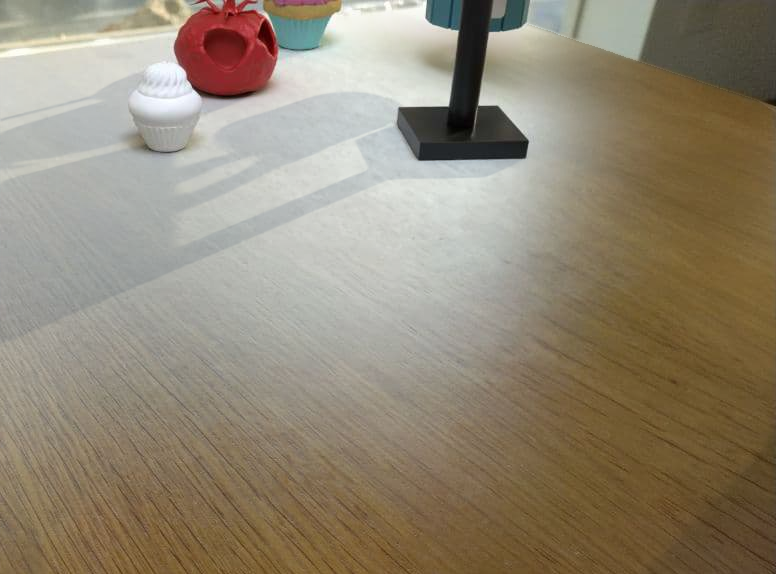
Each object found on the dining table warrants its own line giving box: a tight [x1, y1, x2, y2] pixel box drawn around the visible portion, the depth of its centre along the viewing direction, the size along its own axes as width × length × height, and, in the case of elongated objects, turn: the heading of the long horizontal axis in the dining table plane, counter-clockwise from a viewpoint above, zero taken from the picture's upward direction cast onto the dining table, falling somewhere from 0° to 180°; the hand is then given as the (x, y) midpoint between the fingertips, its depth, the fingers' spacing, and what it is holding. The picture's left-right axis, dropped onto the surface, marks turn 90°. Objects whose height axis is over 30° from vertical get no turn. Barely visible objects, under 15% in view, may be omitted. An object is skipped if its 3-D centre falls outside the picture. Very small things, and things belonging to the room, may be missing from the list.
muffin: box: [127, 60, 203, 153], centre depth 81 cm, size 6×6×7 cm
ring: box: [424, 0, 531, 33], centre depth 98 cm, size 10×10×3 cm
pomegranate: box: [173, 0, 279, 96], centre depth 93 cm, size 10×10×9 cm
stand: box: [396, 0, 530, 161], centre depth 80 cm, size 9×9×14 cm
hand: (488, 12), depth 95 cm, fingers closed on ring, 2 cm apart
